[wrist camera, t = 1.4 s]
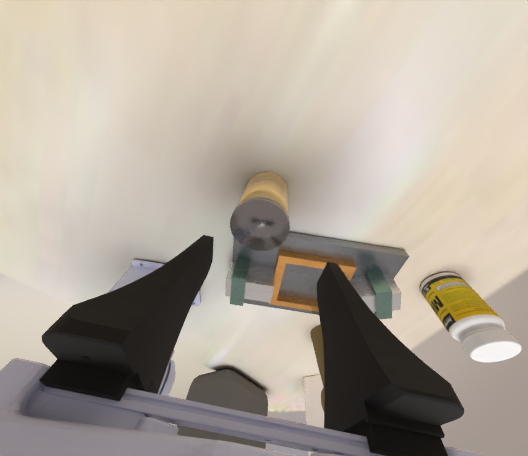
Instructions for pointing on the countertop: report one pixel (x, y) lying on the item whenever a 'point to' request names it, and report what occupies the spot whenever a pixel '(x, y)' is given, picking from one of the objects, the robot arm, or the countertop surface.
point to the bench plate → (314, 273)
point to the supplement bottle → (469, 318)
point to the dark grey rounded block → (226, 401)
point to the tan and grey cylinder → (262, 213)
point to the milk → (313, 401)
